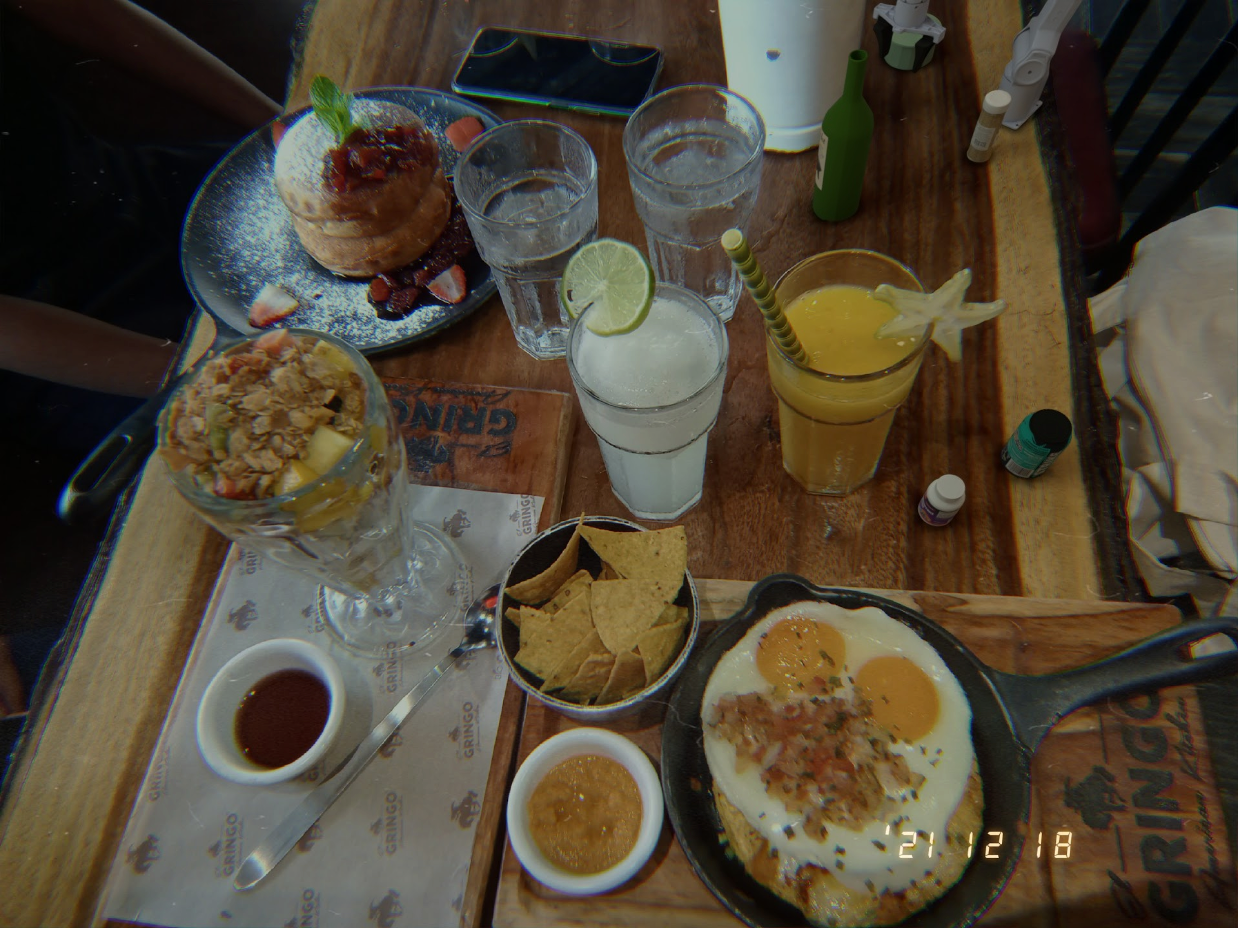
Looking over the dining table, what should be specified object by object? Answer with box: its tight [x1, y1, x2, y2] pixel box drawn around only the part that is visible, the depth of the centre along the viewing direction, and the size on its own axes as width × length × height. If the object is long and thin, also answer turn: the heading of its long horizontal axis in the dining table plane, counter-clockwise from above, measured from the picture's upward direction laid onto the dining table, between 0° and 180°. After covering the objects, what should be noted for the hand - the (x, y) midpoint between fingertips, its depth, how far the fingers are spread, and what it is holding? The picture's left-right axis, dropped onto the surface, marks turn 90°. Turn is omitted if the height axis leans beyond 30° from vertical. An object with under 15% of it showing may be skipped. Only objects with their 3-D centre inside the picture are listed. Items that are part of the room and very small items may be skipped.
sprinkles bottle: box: [966, 89, 1011, 163], centre depth 140 cm, size 5×5×13 cm
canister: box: [883, 42, 937, 71], centre depth 160 cm, size 10×10×6 cm
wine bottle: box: [812, 49, 875, 222], centre depth 132 cm, size 9×9×32 cm
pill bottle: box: [917, 474, 966, 527], centre depth 112 cm, size 5×5×10 cm
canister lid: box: [892, 12, 943, 48], centre depth 156 cm, size 11×11×5 cm
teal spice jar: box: [1000, 408, 1073, 480], centre depth 112 cm, size 7×7×12 cm
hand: (900, 63), depth 147 cm, fingers open, 7 cm apart
